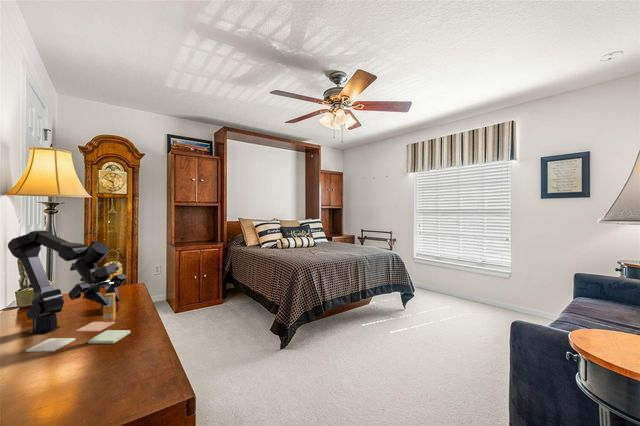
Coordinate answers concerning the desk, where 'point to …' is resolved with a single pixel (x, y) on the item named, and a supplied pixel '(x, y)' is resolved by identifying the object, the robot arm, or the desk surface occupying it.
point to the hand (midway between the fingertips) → (112, 303)
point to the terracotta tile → (95, 327)
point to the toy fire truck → (116, 307)
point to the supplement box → (109, 307)
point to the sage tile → (109, 336)
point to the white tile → (51, 344)
